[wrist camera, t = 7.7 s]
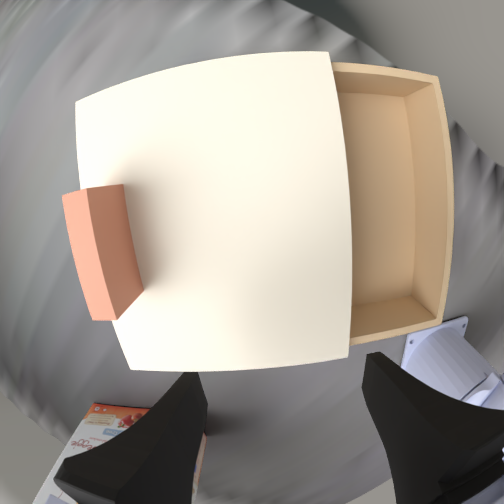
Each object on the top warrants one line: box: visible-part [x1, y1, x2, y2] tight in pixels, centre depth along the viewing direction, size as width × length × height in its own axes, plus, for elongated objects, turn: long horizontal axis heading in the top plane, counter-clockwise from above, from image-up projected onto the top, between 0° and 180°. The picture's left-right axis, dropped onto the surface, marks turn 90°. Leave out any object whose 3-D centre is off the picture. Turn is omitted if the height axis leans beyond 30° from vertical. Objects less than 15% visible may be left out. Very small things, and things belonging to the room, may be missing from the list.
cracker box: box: [32, 403, 207, 504], centre depth 15 cm, size 14×6×21 cm, turn 101°
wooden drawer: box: [331, 62, 454, 346], centre depth 16 cm, size 17×14×5 cm
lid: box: [62, 51, 352, 371], centre depth 12 cm, size 18×14×4 cm
